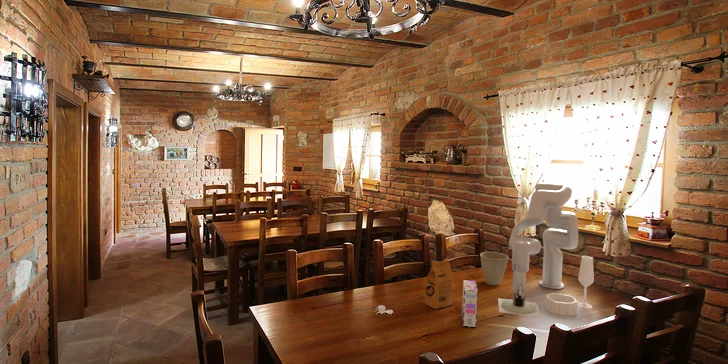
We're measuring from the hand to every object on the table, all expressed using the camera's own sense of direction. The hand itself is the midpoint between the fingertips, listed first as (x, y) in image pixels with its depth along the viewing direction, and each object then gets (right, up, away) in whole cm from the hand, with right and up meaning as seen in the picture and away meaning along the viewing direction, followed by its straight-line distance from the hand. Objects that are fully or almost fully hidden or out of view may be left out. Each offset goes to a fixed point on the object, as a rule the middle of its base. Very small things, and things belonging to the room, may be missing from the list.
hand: (518, 304), depth 201 cm
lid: (0, -1, 0) cm, 1 cm away
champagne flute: (+33, -2, +4) cm, 34 cm away
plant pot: (-1, +1, +36) cm, 36 cm away
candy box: (-27, -3, -15) cm, 31 cm away
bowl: (+19, -2, -2) cm, 19 cm away
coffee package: (-37, -2, +4) cm, 38 cm away
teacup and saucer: (-63, -3, -11) cm, 64 cm away
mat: (0, -2, 0) cm, 2 cm away
